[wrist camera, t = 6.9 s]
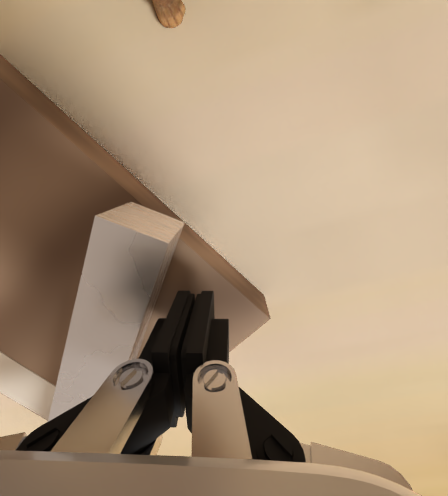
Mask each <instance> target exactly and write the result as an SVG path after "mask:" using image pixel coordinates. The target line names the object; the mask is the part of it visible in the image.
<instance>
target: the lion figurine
mask: <svg viewBox="0 0 448 496" xmlns="http://www.w3.org/2000/svg"><path fill="white" fill-rule="evenodd" d="M152 2H153V5H154V8H155V11H156V14H157V17H158V19H159V21H160V22H161V23H162V25H163V26H165V27H167V28H175V27H176V26H178V25H179V24H181V22H182V20H183V16H184V14H185V6H184V4H183V2H182V1H181V0H152Z"/></svg>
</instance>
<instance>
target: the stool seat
mask: <svg viewBox="0 0 448 496" xmlns="http://www.w3.org/2000/svg"><path fill="white" fill-rule="evenodd" d="M130 202H133V203H136V204H138V205H141V206H144V207H146V208H149V209H151V210H154V211H156V212H159V213H162V214H164V215H167V216H169V217H172V218H174V219H177V220H179V221H182V220H181V219H180V218H179V217H178V216H177V215H175V214H174V213H173V212H172V211H171V210H170V209H169V208H168V207H167V206H166V205H164V204H163V203H162V202H161V201H160V200H159V199H158V198H157V197H156V196H155V195H154V194H152V193H151V192H150V191H149V190H148V189H147V188H146V187H145V186H144V185H143V184H141V183H140V182H139V181H138V180H137V179H136V178H135V177H134V176H133V175H132V174H131V173H129V172H128V171H127V170H126V169H125V168H124V167H123V166H122V165H121V164H120V163H118V162H117V161H116V160H115V159H114V158H113V157H112V156H111V155H110V154H109V153H108V152H106V151H105V150H104V149H103V148H102V147H101V146H100V145H99V144H98V143H97V142H95V141H94V140H93V139H92V138H91V137H90V136H89V135H88V134H87V133H86V132H85V131H83V130H82V129H81V128H80V127H79V126H78V125H77V124H76V123H75V122H74V121H73V120H71V119H70V118H69V117H68V116H67V115H66V114H65V113H64V112H63V111H62V110H60V109H59V108H58V107H57V106H56V105H55V104H54V103H53V102H52V101H51V100H50V99H48V98H47V97H46V96H45V95H44V94H43V93H42V92H41V91H40V90H39V89H37V88H36V87H35V86H34V85H33V84H32V83H31V82H30V81H29V80H28V79H27V78H25V77H24V76H23V75H22V74H21V73H20V72H19V71H18V70H17V69H16V68H14V67H13V66H12V65H11V64H10V63H9V62H8V61H7V60H6V59H5V58H4V57H2V56H1V55H0V393H1V394H3V395H5V396H7V397H8V398H10V399H12V400H13V401H15V402H17V403H19V404H20V405H22V406H24V407H25V408H27V409H29V410H31V411H32V412H34V413H36V414H37V415H39V416H41V417H42V418H44V419H46V420H48V418H49V414H50V410H51V405H52V401H53V397H54V392H55V388H56V384H57V379H58V375H59V370H60V366H61V362H62V357H63V353H64V349H65V344H66V340H67V336H68V331H69V327H70V323H71V318H72V314H73V309H74V305H75V301H76V296H77V292H78V288H79V283H80V279H81V275H82V270H83V266H84V261H85V257H86V253H87V248H88V244H89V240H90V235H91V231H92V227H93V222H94V218H95V215H98V214H101V213H103V212H106V211H109V210H111V209H114V208H116V207H119V206H122V205H124V204H127V203H130ZM182 222H183V221H182ZM178 291H190V292H191V294H195V300H196V296H197V294H201V292H202V291H214V315H215V319H229V352H230V351H231V350H232V349H234V348H235V347H236V346H237V345H239V344H240V343H241V342H242V341H244V340H245V339H246V338H247V337H249V336H250V335H251V334H252V333H253V332H255V331H256V330H257V329H258V328H260V327H261V326H262V325H263V324H265V323H266V322H267V321H268V320H269V319H270V316H269V312H268V308H267V305H266V301H265V297H264V295H263V294H262V293H261V292H260V291H259V290H258V289H256V288H255V287H254V286H253V285H252V284H251V283H250V282H249V281H248V280H247V279H245V278H244V277H243V276H242V275H241V274H240V273H239V272H238V271H237V270H236V269H235V268H233V267H232V266H231V265H230V264H229V263H228V262H227V261H226V260H225V259H224V258H222V257H221V256H220V255H219V254H218V253H217V252H216V251H215V250H214V249H213V248H212V247H210V246H209V245H208V244H207V243H206V242H205V241H204V240H203V239H202V238H201V237H199V236H198V235H197V234H196V233H195V232H194V231H193V230H192V229H191V228H190V227H189V226H187V225H186V224H185V223H184V225H183V228H182V231H181V234H180V237H179V239H178V242H177V245H176V248H175V251H174V254H173V256H172V259H171V262H170V265H169V268H168V270H167V273H166V276H165V279H164V282H163V284H162V287H161V290H160V293H159V296H158V298H157V301H156V304H155V307H154V310H153V312H152V315H151V318H150V321H149V324H148V326H147V329H146V332H145V335H144V338H143V341H142V343H141V346H140V349H139V352H138V355H137V357H136V359H139V357H140V354H141V352H142V350H143V348H144V346H145V344H146V342H147V340H148V338H149V336H150V334H151V332H152V330H153V328H154V326H155V324H156V322H157V320H158V319H159V318H166V317H167V315H168V312H169V310H170V308H171V306H172V303H173V301H174V299H175V296H176V294H177V292H178Z"/></svg>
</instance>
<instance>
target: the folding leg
mask: <svg viewBox="0 0 448 496" xmlns="http://www.w3.org/2000/svg"><path fill="white" fill-rule="evenodd" d="M184 223H185V222H182V221H179V220H177V219H174V218H172V217H169V216H167V215H164V214H162V213H159V212H156V211H154V210H151V209H149V208H146V207H144V206H141V205H138V204H136V203H133V202H130V203H127V204H124V205H122V206H119V207H116V208H114V209H111V210H109V211H106V212H103V213H101V214H98V215H95V218H94V222H93V227H92V231H91V235H90V240H89V244H88V248H87V253H86V257H85V261H84V266H83V270H82V275H81V279H80V283H79V288H78V292H77V296H76V301H75V305H74V309H73V314H72V318H71V323H70V327H69V331H68V336H67V340H66V344H65V349H64V353H63V357H62V362H61V366H60V370H59V375H58V379H57V384H56V388H55V392H54V397H53V401H52V405H51V410H50V414H49V418H48V422H49V421H50V420H52V419H54V418H55V417H57V416H59V415H61V414H62V413H64V412H66V411H68V410H69V409H71V408H73V407H75V406H76V405H78V404H80V403H81V402H83V401H85V400H87V399H88V398H90V397H92V396H93V395H94V394H95V393H96V392H97V390H98V389H99V388H100V386H101V385H102V384H103V382H104V381H105V380H106V379H107V377H108V376H109V375H110V373H111V372H112V371H113V370H114V369H115V368H116V367H117V366H119V365H120V364H122V363H124V362H126V361H128V360H132V359H136V357H137V355H138V352H139V349H140V346H141V343H142V341H143V338H144V335H145V332H146V329H147V326H148V324H149V321H150V318H151V315H152V312H153V310H154V307H155V304H156V301H157V298H158V296H159V293H160V290H161V287H162V284H163V282H164V279H165V276H166V273H167V270H168V268H169V265H170V262H171V259H172V256H173V254H174V251H175V248H176V245H177V242H178V239H179V237H180V234H181V231H182V228H183V225H184Z"/></svg>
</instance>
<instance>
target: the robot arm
mask: <svg viewBox="0 0 448 496" xmlns="http://www.w3.org/2000/svg"><path fill="white" fill-rule="evenodd" d="M185 408H186V417H187V426H188V429H189V430H190V432H191V433H192V457H185V456H160V455H157V452H158V450H159V447H160V445H161V441H162V434H163V433H164V432H165V431H166V430H168V429H169V428H170V427H176V426H177V421H178V417H183V415H184V411H185ZM0 496H421V495H420V494H418V493H416V492H414V491H413V490H412V488H411V486H410V484H409V483H408V482H407V481H406V480H405V478H404V477H403V476H402V475H401V474H400V473H399V472H398V471H396V470H395V469H394V468H393V467H391V466H390V465H388V464H385V463H383V462H381V461H378V460H375V459H371V458H367V457H364V456H360V455H357V454H353V453H349V452H346V451H342V450H339V449H335V448H331V447H328V446H324V445H321V444H317V443H313V442H311V445H306V444H303V443H299V441H298V440H297V439H296V438H295V436H294V435H293V434H292V433H291V432H289V431H288V430H287V429H286V428H285V427H284V426H283V425H282V424H280V423H279V422H278V421H277V420H276V419H275V418H274V417H272V416H271V415H270V414H269V413H268V412H267V411H266V410H265V409H263V408H262V407H261V406H260V405H259V404H258V403H257V402H255V401H254V400H253V399H252V398H251V397H250V396H249V395H248V394H246V393H245V392H244V391H243V390H242V389H241V388H240V387H238V381H237V376H236V373H235V370H234V369H233V368H232V366H231V365H229V319H215V315H214V291H202V292H201V294H197V296H196V300H195V294H191V292H190V291H178V292H177V294H176V296H175V299H174V301H173V303H172V306H171V308H170V310H169V312H168V315H167V317H166V318H159V319H158V320H157V322H156V324H155V326H154V328H153V330H152V332H151V334H150V336H149V338H148V340H147V342H146V344H145V346H144V348H143V350H142V352H141V354H140V357H139V359H132V360H128V361H126V362H124V363H122V364H120V365H119V366H117V367H116V368H115V369H114V370H113V371H112V372H111V373H110V375H109V376H108V377H107V379H106V380H105V381H104V382H103V384H102V385H101V386H100V388H99V389H98V390H97V392H96V393H95V394H94V395H93V396H92V397H90V398H88V399H87V400H85V401H83V402H81V403H80V404H78V405H76V406H75V407H73V408H71V409H69V410H68V411H66V412H64V413H62V414H61V415H59V416H57V417H55V418H54V419H52V420H50V421H49V422H47V423H45V424H43V425H42V426H40V427H39V428H37V429H36V430H34V431H33V432H31V433H30V434H29V435H28V436H26V433H25V432H24V433H19V434H13V435H8V436H3V437H0Z"/></svg>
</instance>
